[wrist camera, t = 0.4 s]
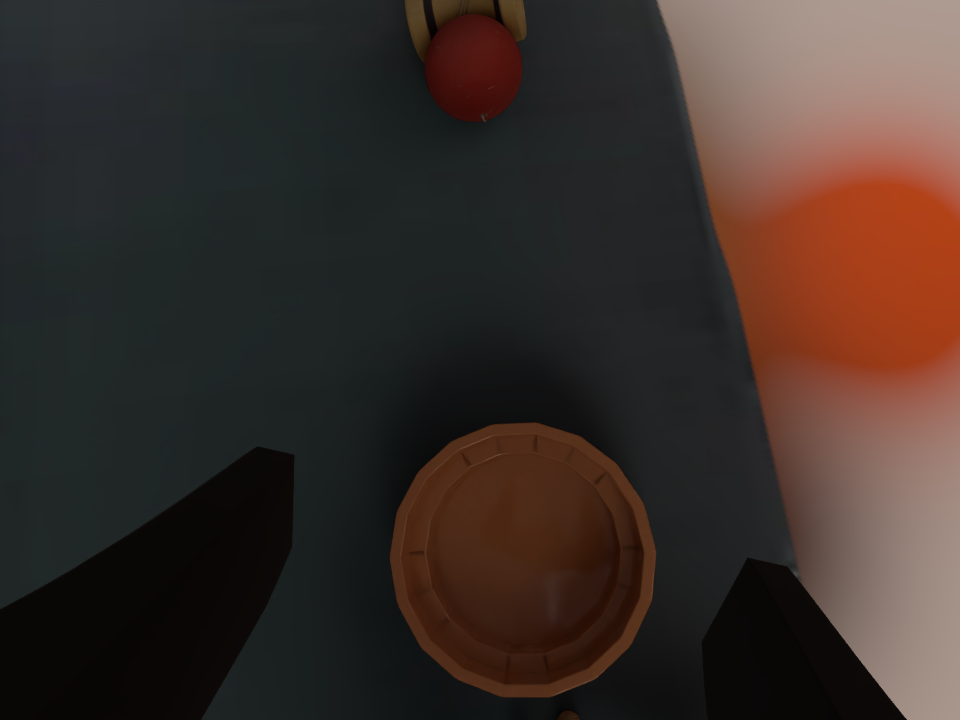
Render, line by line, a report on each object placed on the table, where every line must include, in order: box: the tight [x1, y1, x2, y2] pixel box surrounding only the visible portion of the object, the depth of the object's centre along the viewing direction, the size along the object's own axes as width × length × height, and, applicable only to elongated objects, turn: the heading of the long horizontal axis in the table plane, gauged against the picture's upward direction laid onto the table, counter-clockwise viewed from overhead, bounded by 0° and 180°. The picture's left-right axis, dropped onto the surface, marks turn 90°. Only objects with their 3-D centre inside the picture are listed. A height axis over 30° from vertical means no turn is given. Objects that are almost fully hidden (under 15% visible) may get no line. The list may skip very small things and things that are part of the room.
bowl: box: [390, 422, 656, 697], centre depth 34 cm, size 13×13×4 cm
